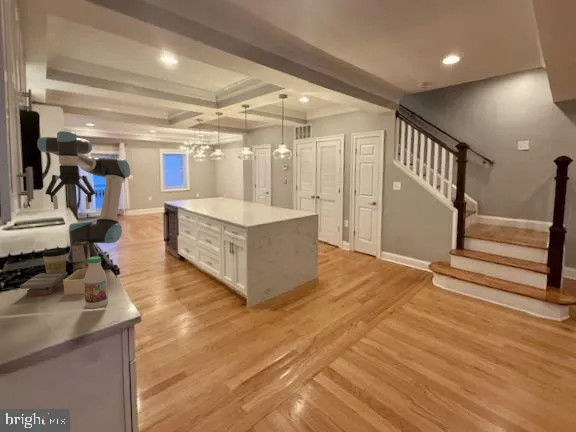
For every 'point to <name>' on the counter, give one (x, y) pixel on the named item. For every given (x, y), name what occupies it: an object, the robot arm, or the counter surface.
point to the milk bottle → (95, 284)
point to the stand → (43, 290)
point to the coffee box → (80, 255)
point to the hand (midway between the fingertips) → (72, 209)
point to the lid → (43, 280)
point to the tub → (75, 283)
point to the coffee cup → (55, 260)
